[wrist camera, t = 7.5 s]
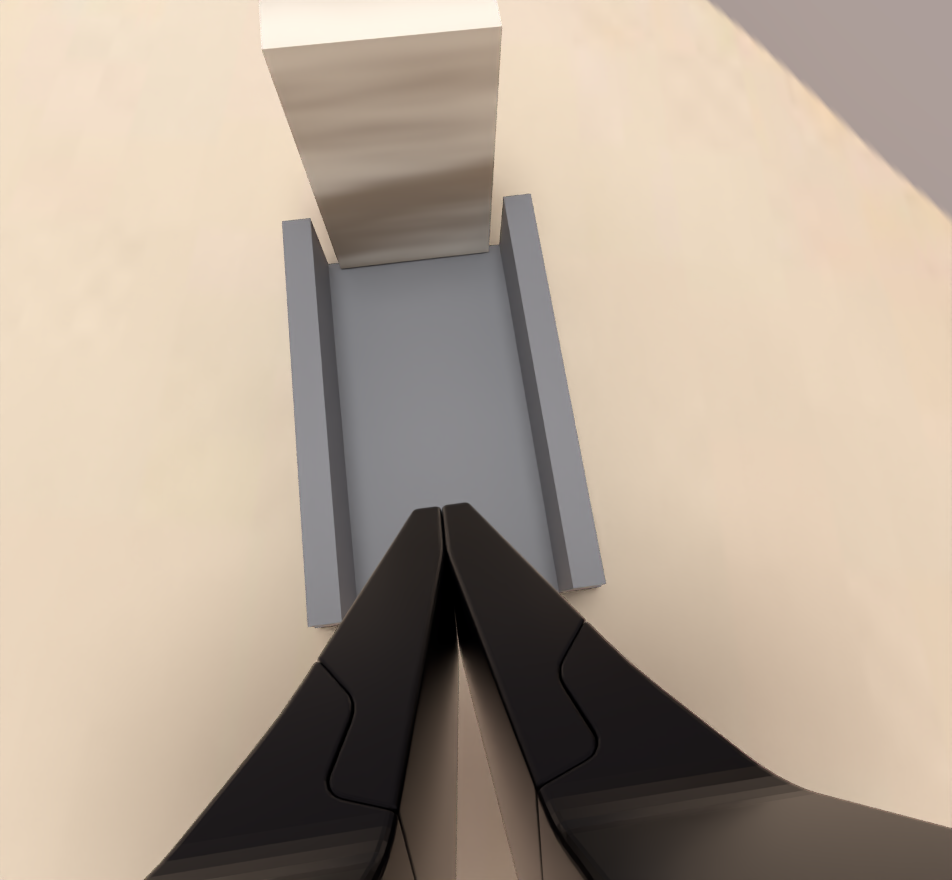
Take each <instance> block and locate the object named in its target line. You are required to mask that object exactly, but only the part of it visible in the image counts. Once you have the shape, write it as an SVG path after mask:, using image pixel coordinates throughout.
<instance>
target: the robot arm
mask: <svg viewBox="0 0 952 880" xmlns="http://www.w3.org/2000/svg"><path fill="white" fill-rule="evenodd" d="M456 627H457V628H456ZM457 634H458V637H457ZM458 640H459V647H460V653H461V657H462V662H463V666H464V670H465V674H466V678H467V682H468V686H469V690H470V694H471V698H472V701H473V705H474V709H475V713H476V717H477V721H478V725H479V729H480V733H481V737H482V741H483V745H484V748H485V752H486V756H487V760H488V764H489V768H490V772H491V776H492V780H493V784H494V788H495V792H496V795H497V799H498V803H499V807H500V811H501V815H502V819H503V823H504V827H505V831H506V835H507V839H508V843H509V846H510V850H511V854H512V858H513V862H514V866H515V870H516V874H517V878H518V880H952V828H949V827H945V826H942V825H938V824H934V823H930V822H926V821H923V820H919V819H915V818H911V817H907V816H903V815H900V814H896V813H892V812H888V811H884V810H881V809H877V808H873V807H869V806H865V805H861V804H858V803H854V802H850V801H846V800H842V799H839V798H835V797H831V796H827V795H823V794H820V793H816V792H813V791H810V790H807V789H804V788H802V787H800V786H797V785H795V784H793V783H791V782H789V781H787V780H785V779H783V778H781V777H779V776H778V775H776V774H774V773H773V772H771V771H770V770H768V769H766V768H765V767H763V766H762V765H760V764H759V763H757V762H756V761H755V760H753V759H752V758H751V757H749V756H748V755H746V754H745V753H744V752H743V751H741V750H740V749H739V748H737V747H736V746H735V745H734V744H732V743H731V742H730V741H729V740H727V739H726V738H725V737H723V736H722V735H721V734H720V733H718V732H717V731H716V730H714V729H713V728H712V727H711V726H709V725H708V724H707V723H705V722H704V721H703V720H702V719H700V718H699V717H698V716H697V715H695V714H694V713H693V712H691V711H690V710H689V709H688V708H686V707H685V706H684V705H682V704H681V703H680V702H679V701H677V700H676V699H675V698H673V697H672V696H671V695H670V694H668V693H667V692H666V691H665V690H663V689H662V688H661V687H660V686H658V685H657V684H656V683H655V682H653V681H652V680H651V679H650V678H649V677H647V676H646V675H645V674H644V673H643V672H641V671H640V670H639V669H638V668H637V667H635V666H634V665H633V664H632V663H630V662H629V661H628V660H627V659H626V658H625V657H624V656H623V655H622V654H621V653H620V652H619V651H618V650H617V649H616V648H614V647H613V646H612V645H611V644H610V643H609V642H608V641H607V640H606V639H605V638H604V637H603V636H602V635H601V634H600V633H599V632H598V631H597V630H596V629H595V628H594V627H593V626H592V625H591V624H590V623H588V622H586V620H585V618H584V617H583V616H582V615H581V614H580V613H579V612H578V611H577V610H576V609H575V608H574V607H573V606H572V605H571V604H570V603H569V602H568V601H567V600H566V599H565V598H564V597H563V596H562V595H561V594H560V593H559V592H558V591H557V590H556V589H555V588H554V587H553V586H552V585H551V584H550V583H549V582H548V581H547V580H546V579H545V578H544V577H543V576H542V575H541V574H540V573H539V572H538V571H537V570H536V569H535V568H534V567H533V566H532V565H531V564H530V563H529V562H528V561H527V560H526V559H525V558H524V557H523V556H522V555H521V554H520V553H519V552H518V551H517V550H516V549H515V548H514V547H513V546H512V545H511V544H510V543H509V542H508V541H507V540H506V539H505V538H504V537H503V536H502V535H501V534H500V533H499V532H498V531H497V530H496V529H495V528H494V527H493V526H492V525H491V524H490V523H489V522H488V521H487V520H486V519H485V518H484V517H483V516H482V515H481V514H480V513H479V512H478V511H477V510H476V509H475V508H474V507H473V506H472V505H471V504H470V503H467V502H463V503H456V504H449V505H444V506H443V508H442V511H441V508H440V507H438V506H434V507H427V508H419V509H415V510H413V511H412V513H411V514H410V516H409V517H408V519H407V521H406V522H405V524H404V525H403V527H402V528H401V530H400V531H399V533H398V534H397V536H396V538H395V539H394V541H393V542H392V544H391V545H390V547H389V548H388V550H387V552H386V553H385V555H384V556H383V558H382V559H381V561H380V562H379V564H378V566H377V567H376V569H375V570H374V572H373V573H372V575H371V576H370V578H369V580H368V581H367V583H366V584H365V586H364V587H363V589H362V590H361V592H360V594H359V595H358V597H357V598H356V600H355V601H354V603H353V604H352V606H351V608H350V609H349V611H348V612H347V614H346V615H345V617H344V618H343V620H342V621H341V623H340V625H339V626H338V628H337V629H336V631H335V632H334V634H333V635H332V637H331V639H330V640H329V642H328V643H327V645H326V646H325V648H324V649H323V651H322V653H321V654H320V656H319V657H318V662H315V663H314V664H313V666H312V668H311V669H310V671H309V672H308V674H307V675H306V677H305V679H304V680H303V682H302V683H301V685H300V686H299V688H298V689H297V690H296V692H295V693H294V695H293V696H292V698H291V699H290V701H289V702H288V704H287V705H286V706H285V708H284V709H283V711H282V712H281V714H280V715H279V716H278V718H277V719H276V720H275V722H274V723H273V724H272V726H271V727H270V728H269V729H268V731H267V732H266V733H265V735H264V736H263V737H262V739H261V740H260V741H259V742H258V744H257V745H256V746H255V748H254V749H253V750H252V752H251V753H250V754H249V755H248V756H247V758H246V759H245V760H244V761H243V763H242V764H241V765H240V766H239V768H238V769H237V770H236V771H235V773H234V774H233V775H232V776H231V777H230V779H229V780H228V781H227V782H226V784H225V785H224V786H223V787H222V789H221V790H220V791H219V792H218V793H217V795H216V796H215V797H214V798H213V800H212V801H211V802H210V803H209V805H208V806H207V807H206V808H205V810H204V811H203V812H202V813H201V814H200V816H199V817H198V818H197V819H196V821H195V822H194V823H193V824H192V826H191V827H190V828H189V829H188V830H187V832H186V833H185V834H184V835H183V837H182V838H181V839H180V840H179V842H178V843H177V844H176V845H175V846H174V848H173V849H172V850H171V851H170V852H169V853H168V855H167V856H166V857H165V858H164V859H163V860H162V861H161V863H160V864H159V865H158V866H157V867H156V868H155V869H154V870H153V871H152V872H151V873H150V874H149V875H148V876H147V877H146V878H145V879H144V880H456V844H457V772H458V700H459V649H458Z"/></svg>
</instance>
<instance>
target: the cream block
mask: <svg viewBox="0 0 952 880" xmlns="http://www.w3.org/2000/svg"><path fill="white" fill-rule="evenodd" d="M259 13H260V30H261V47H262V52H263V55H264V57H265V60H266V63H267V66H268V68H269V71H270V74H271V77H272V80H273V82H274V85H275V88H276V91H277V93H278V96H279V99H280V102H281V104H282V107H283V110H284V113H285V116H286V118H287V121H288V124H289V127H290V129H291V132H292V135H293V138H294V140H295V143H296V146H297V149H298V152H299V154H300V157H301V160H302V163H303V165H304V168H305V171H306V174H307V177H308V179H309V182H310V185H311V188H312V190H313V193H314V196H315V199H316V201H317V204H318V207H319V210H320V213H321V215H322V218H323V221H324V224H325V226H326V229H327V232H328V235H329V238H330V240H331V243H332V246H333V249H334V251H335V254H336V257H337V260H338V262H339V265H340V268H341V269H344V268H352V267H361V266H370V265H378V264H387V263H396V262H404V261H413V260H422V259H430V258H439V257H448V256H456V255H465V254H474V253H482V252H489V236H490V219H491V202H492V186H493V169H494V152H495V135H496V119H497V102H498V85H499V68H500V52H501V35H502V24H501V18H500V13H499V8H498V3H497V0H259Z"/></svg>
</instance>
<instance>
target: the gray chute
mask: <svg viewBox="0 0 952 880" xmlns="http://www.w3.org/2000/svg"><path fill="white" fill-rule="evenodd" d="M282 228H283V244H284V259H285V275H286V291H287V307H288V322H289V338H290V354H291V369H292V385H293V401H294V417H295V432H296V448H297V464H298V479H299V495H300V511H301V527H302V542H303V558H304V574H305V590H306V605H307V621H308V627H315V628H320V627H327V626H334V625H340V623H341V621H342V620H343V618H344V617H345V615H346V614H347V612H348V611H349V609H350V608H351V606H352V604H353V603H354V601H355V600H356V598H357V597H358V595H359V594H360V592H361V590H362V589H363V587H364V586H365V584H366V583H367V581H368V580H369V578H370V576H371V575H372V573H373V572H374V570H375V569H376V567H377V566H378V564H379V562H380V561H381V559H382V558H383V556H384V555H385V553H386V552H387V550H388V548H389V547H390V545H391V544H392V542H393V541H394V539H395V538H396V536H397V534H398V533H399V531H400V530H401V528H402V527H403V525H404V524H405V522H406V521H407V519H408V517H409V516H410V514H411V513H412V511H413V510H415V509H419V508H427V507H434V506H438V507H440V508H441V511H442V508H443V506H444V505H449V504H456V503H463V502H467V503H470V504H471V505H472V506H473V507H474V508H475V509H476V510H477V511H478V512H479V513H480V514H481V515H482V516H483V517H484V518H485V519H486V520H487V521H488V522H489V523H490V524H491V525H492V526H493V527H494V528H495V529H496V530H497V531H498V532H499V533H500V534H501V535H502V536H503V537H504V538H505V539H506V540H507V541H508V542H509V543H510V544H511V545H512V546H513V547H514V548H515V549H516V550H517V551H518V552H519V553H520V554H521V555H522V556H523V557H524V558H525V559H526V560H527V561H528V562H529V563H530V564H531V565H532V566H533V567H534V568H535V569H536V570H537V571H538V572H539V573H540V574H541V575H542V576H543V577H544V578H545V579H546V580H547V581H548V582H549V583H550V584H551V585H552V586H553V587H554V588H555V589H556V590H557V591H558V592H559V593H561V592H568V591H575V590H582V589H589V588H596V587H600V586H601V585H603V584H606V581H605V576H604V571H603V566H602V561H601V556H600V550H599V545H598V540H597V535H596V530H595V524H594V519H593V514H592V509H591V504H590V499H589V493H588V488H587V483H586V478H585V473H584V468H583V462H582V457H581V452H580V447H579V442H578V436H577V431H576V426H575V421H574V416H573V411H572V405H571V400H570V395H569V390H568V385H567V380H566V374H565V369H564V364H563V359H562V354H561V348H560V343H559V338H558V333H557V328H556V323H555V317H554V312H553V307H552V302H551V297H550V292H549V286H548V281H547V276H546V271H545V266H544V261H543V255H542V250H541V245H540V240H539V235H538V229H537V224H536V219H535V214H534V209H533V204H532V198H531V194H524V195H515V196H506V197H503V208H502V220H501V231H500V243H499V245H491V246H489V252H482V253H474V254H465V255H456V256H448V257H439V258H430V259H422V260H413V261H404V262H396V263H387V264H378V265H370V266H361V267H352V268H344V269H341V268H340V265H339V263H334V264H328V262H327V260H326V257H325V255H324V252H323V250H322V247H321V244H320V242H319V239H318V237H317V234H316V232H315V229H314V227H313V224H312V221H311V219H310V218H308V219H299V220H290V221H282Z"/></svg>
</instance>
